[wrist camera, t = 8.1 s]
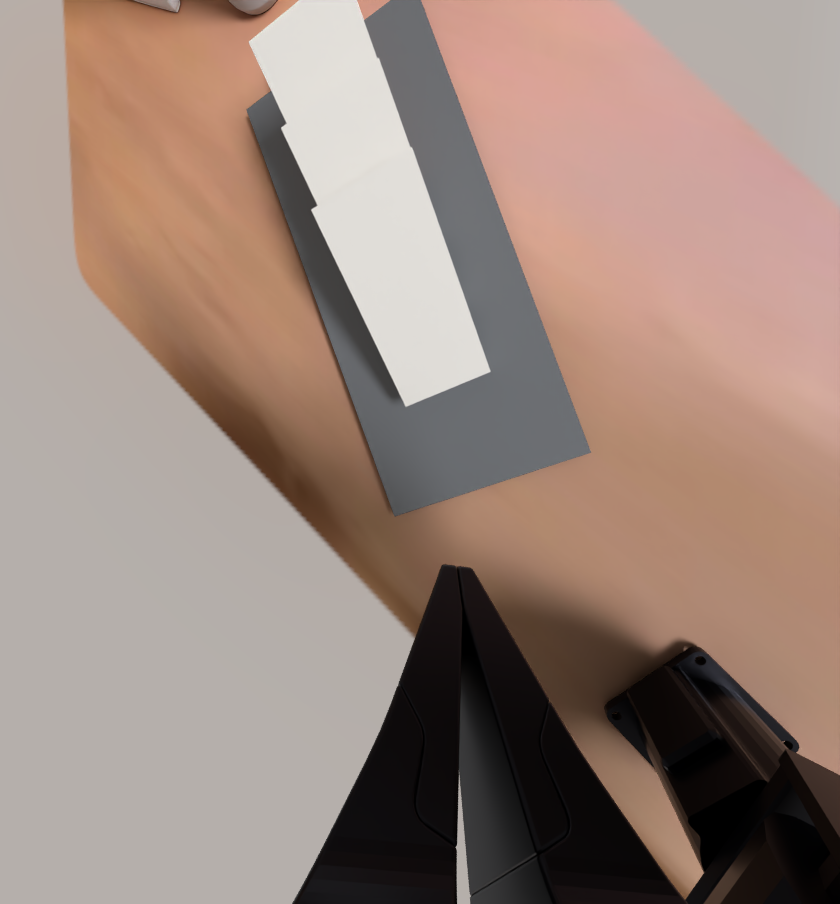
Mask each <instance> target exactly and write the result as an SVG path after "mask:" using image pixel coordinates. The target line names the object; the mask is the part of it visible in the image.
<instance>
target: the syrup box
mask: <svg viewBox="0 0 840 904" xmlns="http://www.w3.org/2000/svg"><path fill="white" fill-rule="evenodd" d="M134 1H137V2H140V3H144V4H147V5H151V6H154V7H158V8H162V9H166V10H169V11H174V12H178V10H179V7H180V0H134Z"/></svg>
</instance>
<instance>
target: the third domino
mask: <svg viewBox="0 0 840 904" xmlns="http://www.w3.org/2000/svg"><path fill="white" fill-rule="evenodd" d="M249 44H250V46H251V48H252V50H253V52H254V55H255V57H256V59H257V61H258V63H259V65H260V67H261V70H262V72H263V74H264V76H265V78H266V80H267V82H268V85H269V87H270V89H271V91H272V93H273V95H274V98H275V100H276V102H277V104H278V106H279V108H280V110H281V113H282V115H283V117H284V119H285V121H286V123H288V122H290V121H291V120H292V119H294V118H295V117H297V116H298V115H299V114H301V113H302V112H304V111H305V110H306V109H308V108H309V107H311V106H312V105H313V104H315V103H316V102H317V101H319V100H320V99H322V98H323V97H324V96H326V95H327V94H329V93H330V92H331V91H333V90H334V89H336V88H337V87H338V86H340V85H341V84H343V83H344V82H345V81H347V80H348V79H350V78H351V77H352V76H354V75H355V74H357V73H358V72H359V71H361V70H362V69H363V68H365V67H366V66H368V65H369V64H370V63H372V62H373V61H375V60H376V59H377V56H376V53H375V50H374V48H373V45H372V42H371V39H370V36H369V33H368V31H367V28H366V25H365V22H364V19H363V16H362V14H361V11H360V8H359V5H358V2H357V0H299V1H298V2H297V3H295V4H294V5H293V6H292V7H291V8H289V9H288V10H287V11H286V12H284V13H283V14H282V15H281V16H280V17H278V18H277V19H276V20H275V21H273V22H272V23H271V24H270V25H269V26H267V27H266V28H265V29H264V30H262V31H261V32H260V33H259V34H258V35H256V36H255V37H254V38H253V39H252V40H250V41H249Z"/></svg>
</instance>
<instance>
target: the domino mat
mask: <svg viewBox="0 0 840 904" xmlns="http://www.w3.org/2000/svg"><path fill="white" fill-rule="evenodd" d="M364 22H365V25H366V28H367V31H368V33H369V36H370V39H371V42H372V45H373V48H374V50H375V53H376V56H377V58H379V60H380V63H381V65H382V68H383V71H384V74H385V77H386V80H387V82H388V85H389V88H390V91H391V94H392V97H393V99H394V102H395V105H396V108H397V111H398V114H399V117H400V119H401V122H402V125H403V128H404V131H405V134H406V136H407V139H408V142H409V145H410V148H411V147H412V148H413V151H414V154H415V157H416V160H417V163H418V166H419V168H420V171H421V174H422V177H423V180H424V183H425V186H426V188H427V191H428V194H429V197H430V200H431V203H432V206H433V208H434V211H435V214H436V217H437V220H438V223H439V226H440V228H441V231H442V234H443V237H444V240H445V243H446V246H447V248H448V251H449V254H450V257H451V260H452V263H453V266H454V268H455V271H456V274H457V277H458V280H459V283H460V286H461V288H462V291H463V294H464V297H465V300H466V303H467V306H468V308H469V311H470V314H471V317H472V320H473V323H474V325H475V328H476V331H477V334H478V337H479V340H480V343H481V345H482V348H483V351H484V354H485V357H486V360H487V363H488V365H489V368H490V371H491V372H489V373H487V374H484V375H482V376H479V377H477V378H475V379H472V380H470V381H467V382H465V383H462V384H460V385H458V386H455V387H453V388H450V389H448V390H446V391H443V392H441V393H438V394H436V395H433V396H431V397H429V398H426V399H424V400H421V401H419V402H416V403H414V404H412V405H409V406H407V407H406V406H405V404H404V402H403V400H402V398H401V396H400V394H399V392H398V390H397V388H396V386H395V383H394V381H393V379H392V377H391V375H390V373H389V371H388V369H387V367H386V365H385V363H384V361H383V359H382V356H381V354H380V352H379V350H378V348H377V346H376V344H375V342H374V340H373V338H372V336H371V334H370V332H369V329H368V327H367V325H366V323H365V321H364V319H363V317H362V315H361V313H360V311H359V309H358V307H357V304H356V302H355V300H354V298H353V296H352V294H351V292H350V290H349V288H348V286H347V284H346V282H345V280H344V277H343V275H342V273H341V271H340V269H339V267H338V265H337V263H336V261H335V259H334V257H333V255H332V253H331V250H330V248H329V246H328V244H327V242H326V240H325V238H324V236H323V234H322V232H321V230H320V228H319V226H318V223H317V221H316V219H315V217H314V215H313V213H312V211H311V209H313V208H314V207H316V206H317V203H316V201H315V199H314V197H313V195H312V193H311V191H310V189H309V186H308V184H307V182H306V180H305V178H304V176H303V174H302V172H301V170H300V167H299V165H298V163H297V161H296V159H295V157H294V155H293V153H292V151H291V148H290V146H289V144H288V142H287V140H286V138H285V136H284V134H283V131H282V129H281V127H283V126H284V125H285V124H287V123H286V121H285V119H284V117H283V115H282V113H281V110H280V108H279V106H278V104H277V102H276V100H275V98H274V95H273V93H272V91H270V92H269V93H268V94H266V95H265V96H264V97H262V98H261V99H260V100H258V101H257V102H256V103H254V104H253V105H252V106H251V107H249V108H248V109H247V113H248V115H249V118H250V121H251V124H252V126H253V129H254V132H255V135H256V137H257V140H258V143H259V146H260V148H261V151H262V154H263V157H264V159H265V162H266V165H267V168H268V170H269V173H270V176H271V179H272V181H273V184H274V187H275V190H276V192H277V195H278V198H279V201H280V203H281V206H282V209H283V211H284V214H285V217H286V220H287V222H288V225H289V228H290V231H291V233H292V236H293V239H294V242H295V244H296V247H297V250H298V253H299V255H300V258H301V261H302V264H303V266H304V269H305V272H306V275H307V277H308V280H309V283H310V286H311V288H312V291H313V294H314V297H315V299H316V302H317V305H318V308H319V310H320V313H321V316H322V319H323V321H324V324H325V327H326V330H327V332H328V335H329V338H330V341H331V343H332V346H333V349H334V351H335V354H336V357H337V360H338V362H339V365H340V368H341V371H342V373H343V376H344V379H345V382H346V384H347V387H348V390H349V393H350V395H351V398H352V401H353V404H354V406H355V409H356V412H357V415H358V417H359V420H360V423H361V426H362V428H363V431H364V434H365V437H366V439H367V442H368V445H369V448H370V450H371V453H372V456H373V459H374V461H375V464H376V467H377V470H378V472H379V475H380V478H381V480H382V483H383V486H384V489H385V491H386V494H387V497H388V500H389V502H390V505H391V508H392V511H393V513H394V516H398V515H401V514H404V513H407V512H410V511H413V510H416V509H419V508H422V507H425V506H428V505H431V504H434V503H437V502H441V501H444V500H447V499H450V498H453V497H456V496H459V495H462V494H465V493H468V492H471V491H474V490H477V489H480V488H484V487H487V486H490V485H493V484H496V483H499V482H502V481H505V480H508V479H511V478H514V477H517V476H520V475H523V474H526V473H530V472H533V471H536V470H539V469H542V468H545V467H548V466H551V465H554V464H557V463H560V462H563V461H566V460H569V459H573V458H576V457H579V456H582V455H585V454H588V453H591V451H590V449H589V446H588V443H587V441H586V438H585V435H584V433H583V430H582V427H581V425H580V422H579V419H578V417H577V414H576V411H575V409H574V406H573V403H572V401H571V398H570V395H569V393H568V390H567V387H566V385H565V382H564V380H563V377H562V374H561V372H560V369H559V366H558V364H557V361H556V358H555V356H554V353H553V350H552V348H551V345H550V342H549V340H548V337H547V334H546V332H545V329H544V326H543V324H542V321H541V318H540V316H539V313H538V310H537V308H536V305H535V302H534V300H533V297H532V294H531V292H530V289H529V287H528V284H527V281H526V279H525V276H524V273H523V271H522V268H521V265H520V263H519V260H518V257H517V255H516V252H515V249H514V247H513V244H512V241H511V239H510V236H509V233H508V231H507V228H506V225H505V223H504V220H503V217H502V215H501V212H500V209H499V207H498V204H497V201H496V199H495V196H494V194H493V191H492V188H491V186H490V183H489V180H488V178H487V175H486V172H485V170H484V167H483V164H482V162H481V159H480V156H479V154H478V151H477V148H476V146H475V143H474V140H473V138H472V135H471V132H470V130H469V127H468V124H467V122H466V119H465V116H464V114H463V111H462V108H461V106H460V103H459V101H458V98H457V95H456V93H455V90H454V87H453V85H452V82H451V79H450V77H449V74H448V71H447V69H446V66H445V63H444V61H443V58H442V55H441V53H440V50H439V47H438V45H437V42H436V39H435V37H434V34H433V31H432V29H431V26H430V23H429V21H428V18H427V15H426V13H425V10H424V8H423V5H422V2H421V0H390V1H389V2H388V3H386V4H385V5H384V6H382V7H381V8H380V9H379V10H377V11H376V12H375V13H373V14H372V15H371V16H369V17H368V18H367V19H365V20H364Z"/></svg>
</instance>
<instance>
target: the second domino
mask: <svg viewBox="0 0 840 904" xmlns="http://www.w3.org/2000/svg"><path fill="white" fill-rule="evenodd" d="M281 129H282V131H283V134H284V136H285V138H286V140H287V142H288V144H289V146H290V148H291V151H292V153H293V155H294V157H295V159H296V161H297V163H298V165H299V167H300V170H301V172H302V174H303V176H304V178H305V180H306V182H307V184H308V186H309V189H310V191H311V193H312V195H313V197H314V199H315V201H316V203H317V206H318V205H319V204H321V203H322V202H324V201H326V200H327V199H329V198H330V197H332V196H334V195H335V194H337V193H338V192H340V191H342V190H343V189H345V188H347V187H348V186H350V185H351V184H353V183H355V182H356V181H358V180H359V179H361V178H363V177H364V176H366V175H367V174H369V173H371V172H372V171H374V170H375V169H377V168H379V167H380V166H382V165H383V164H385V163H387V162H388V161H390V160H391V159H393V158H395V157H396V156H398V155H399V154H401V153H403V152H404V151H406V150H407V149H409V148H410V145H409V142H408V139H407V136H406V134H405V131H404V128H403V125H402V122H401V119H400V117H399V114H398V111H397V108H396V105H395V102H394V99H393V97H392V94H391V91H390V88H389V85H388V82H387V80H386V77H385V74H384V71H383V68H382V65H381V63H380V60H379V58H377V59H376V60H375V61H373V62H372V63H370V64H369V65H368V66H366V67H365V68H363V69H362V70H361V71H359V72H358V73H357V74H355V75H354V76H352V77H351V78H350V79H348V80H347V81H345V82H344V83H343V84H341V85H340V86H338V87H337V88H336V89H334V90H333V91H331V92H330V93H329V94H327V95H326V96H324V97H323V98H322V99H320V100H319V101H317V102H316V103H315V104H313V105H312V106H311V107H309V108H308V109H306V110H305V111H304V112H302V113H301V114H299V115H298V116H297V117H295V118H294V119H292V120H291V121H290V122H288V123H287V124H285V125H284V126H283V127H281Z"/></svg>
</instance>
